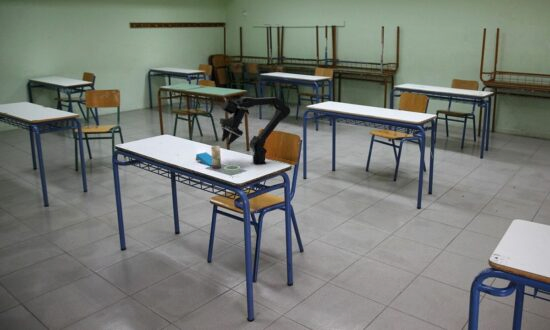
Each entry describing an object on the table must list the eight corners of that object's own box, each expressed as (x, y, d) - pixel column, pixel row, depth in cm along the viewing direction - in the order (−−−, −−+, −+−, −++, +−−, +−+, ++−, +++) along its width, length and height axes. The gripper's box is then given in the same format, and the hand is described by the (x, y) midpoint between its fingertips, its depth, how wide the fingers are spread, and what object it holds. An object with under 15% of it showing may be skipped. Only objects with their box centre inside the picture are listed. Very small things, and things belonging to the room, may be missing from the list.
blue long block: (218, 173, 274) (201, 159, 285) (220, 163, 271) (202, 149, 282) (209, 176, 270) (191, 162, 281) (210, 165, 267) (192, 151, 278)
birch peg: (220, 166, 268) (219, 145, 264) (222, 168, 263) (221, 147, 260) (211, 167, 266) (210, 146, 263) (213, 169, 261) (212, 148, 258)
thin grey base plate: (204, 170, 264) (204, 163, 263) (220, 165, 273) (220, 159, 272) (231, 177, 250) (230, 171, 249) (247, 173, 258) (247, 166, 257)
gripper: (219, 109, 269) (207, 134, 269) (231, 114, 253) (218, 140, 253) (235, 117, 275) (223, 141, 275) (248, 122, 259) (236, 148, 259)
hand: (225, 142), depth 265 cm, fingers open, 9 cm apart
